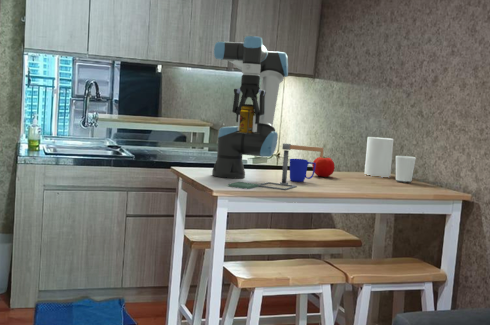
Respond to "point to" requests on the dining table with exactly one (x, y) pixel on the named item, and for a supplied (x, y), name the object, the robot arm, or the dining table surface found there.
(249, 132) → the condiment
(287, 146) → the tan bent bar
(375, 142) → the canister
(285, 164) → the post
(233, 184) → the mat
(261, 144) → the robot arm
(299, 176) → the mug
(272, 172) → the dining table surface
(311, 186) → the dining table surface
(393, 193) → the dining table surface
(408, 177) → the cup
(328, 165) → the tomato
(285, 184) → the frame
